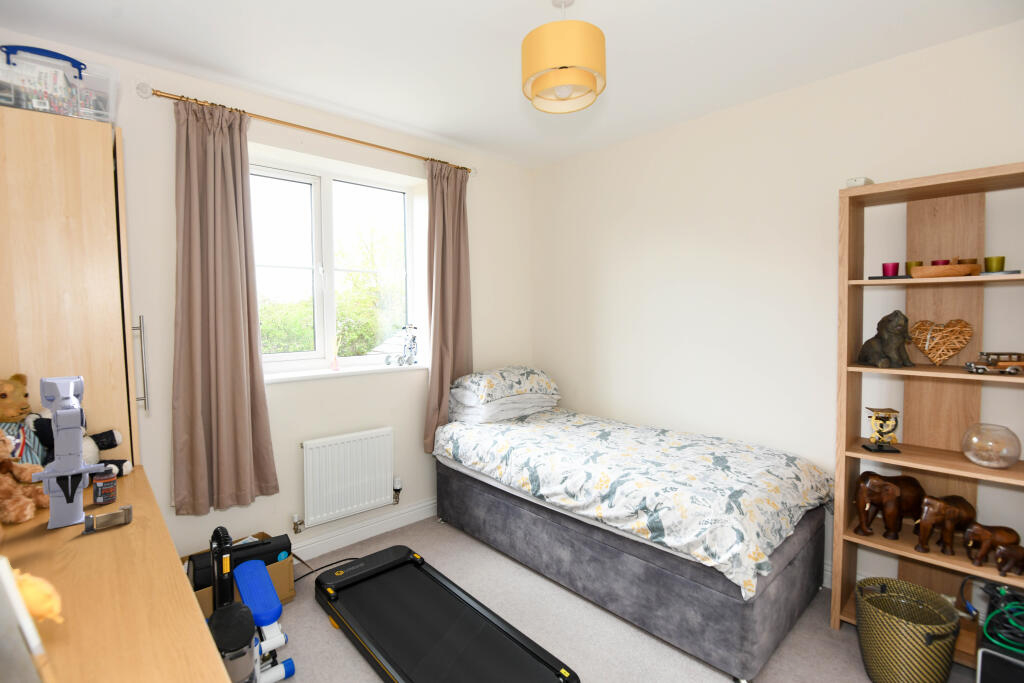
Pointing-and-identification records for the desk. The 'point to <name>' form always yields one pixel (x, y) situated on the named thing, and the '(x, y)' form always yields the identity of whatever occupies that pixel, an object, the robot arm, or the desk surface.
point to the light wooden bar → (113, 518)
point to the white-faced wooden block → (126, 506)
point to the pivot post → (89, 524)
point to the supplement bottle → (104, 487)
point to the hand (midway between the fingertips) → (70, 502)
